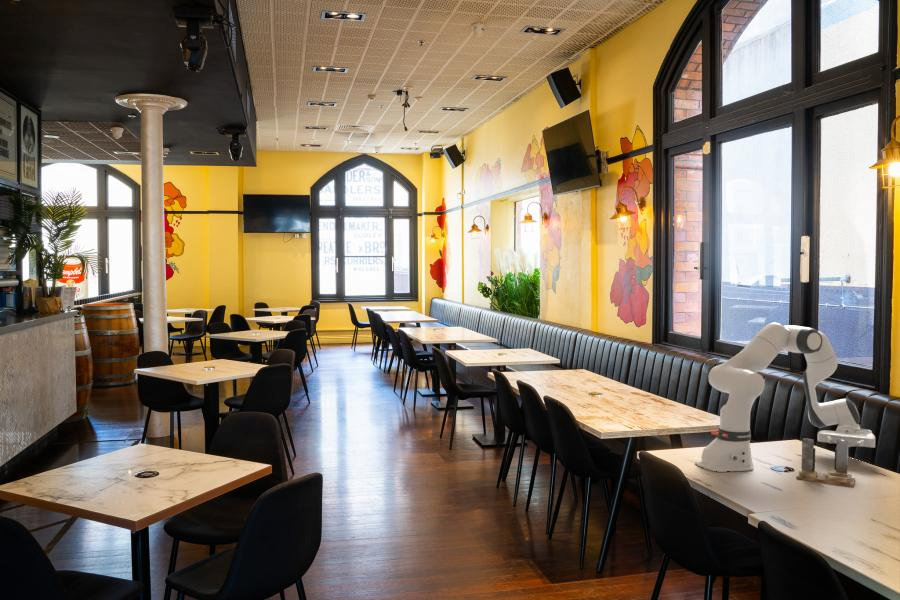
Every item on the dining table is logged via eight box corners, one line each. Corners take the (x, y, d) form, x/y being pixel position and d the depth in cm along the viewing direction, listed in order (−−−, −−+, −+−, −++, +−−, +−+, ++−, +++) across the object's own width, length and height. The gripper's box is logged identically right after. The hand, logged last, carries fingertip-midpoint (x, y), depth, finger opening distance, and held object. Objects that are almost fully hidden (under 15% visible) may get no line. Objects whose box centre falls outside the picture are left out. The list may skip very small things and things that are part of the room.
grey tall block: (834, 475, 266) (835, 439, 266) (834, 473, 269) (835, 438, 268) (846, 477, 264) (847, 441, 263) (847, 475, 267) (848, 439, 266)
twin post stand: (796, 478, 262) (796, 440, 261) (799, 473, 269) (800, 435, 269) (853, 487, 252) (854, 447, 251) (855, 480, 259) (856, 441, 259)
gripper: (818, 425, 293) (815, 431, 282) (876, 430, 282) (874, 438, 271) (818, 440, 294) (814, 447, 282) (875, 446, 283) (874, 454, 271)
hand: (844, 442), depth 276 cm, fingers open, 8 cm apart
